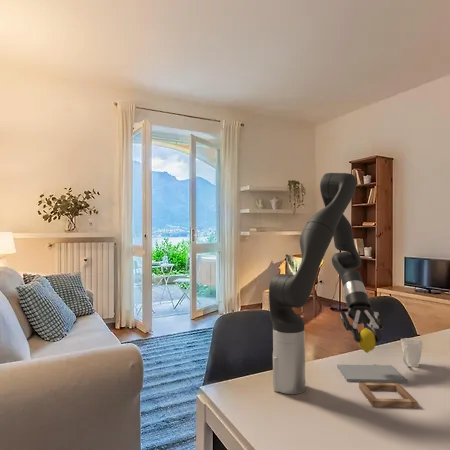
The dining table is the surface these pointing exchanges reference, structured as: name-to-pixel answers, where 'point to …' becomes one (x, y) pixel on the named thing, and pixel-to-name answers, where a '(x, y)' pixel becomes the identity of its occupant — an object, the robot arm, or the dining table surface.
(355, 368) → the mat
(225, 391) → the dining table surface
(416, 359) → the cup
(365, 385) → the square seat
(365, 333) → the lemon
